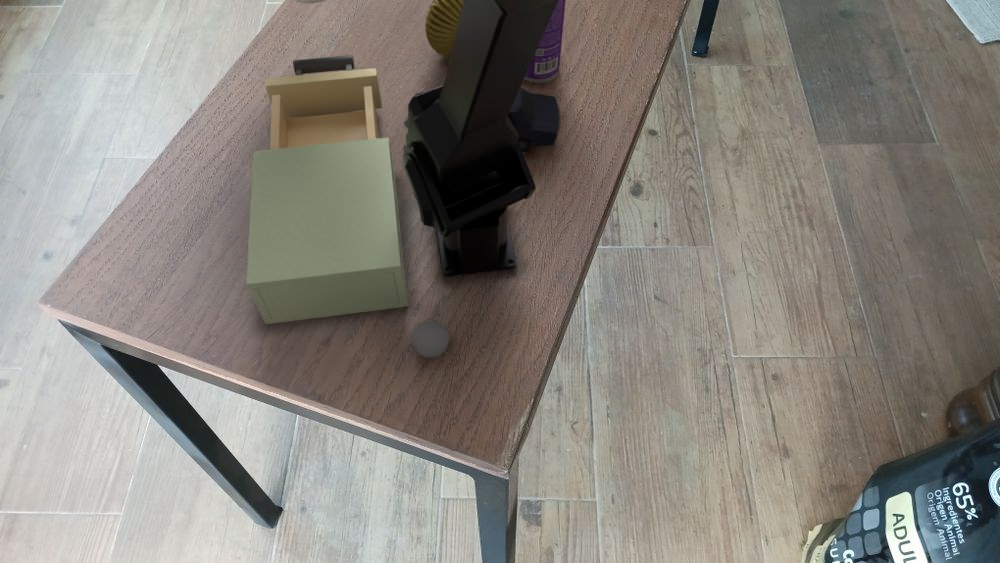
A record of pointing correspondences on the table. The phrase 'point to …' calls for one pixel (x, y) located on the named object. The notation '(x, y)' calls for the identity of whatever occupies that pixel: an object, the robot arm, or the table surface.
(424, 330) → the rubber ball
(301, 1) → the pill bottle
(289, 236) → the cabinet
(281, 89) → the drawer
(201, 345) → the table surface
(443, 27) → the sculpture
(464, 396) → the table surface
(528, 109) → the toy car
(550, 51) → the container
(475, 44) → the robot arm
